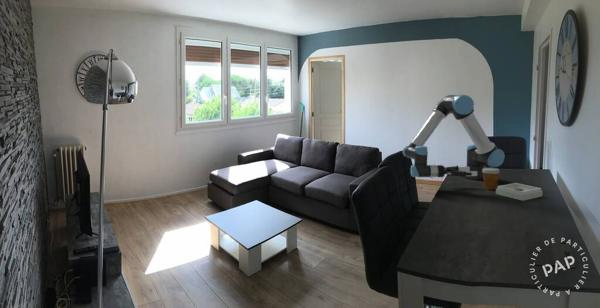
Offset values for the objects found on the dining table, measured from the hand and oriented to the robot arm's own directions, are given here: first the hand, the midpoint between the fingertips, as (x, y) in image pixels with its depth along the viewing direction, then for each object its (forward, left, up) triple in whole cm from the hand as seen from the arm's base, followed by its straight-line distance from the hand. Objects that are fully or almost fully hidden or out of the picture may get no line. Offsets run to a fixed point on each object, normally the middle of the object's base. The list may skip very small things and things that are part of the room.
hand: (473, 171), depth 213 cm
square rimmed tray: (-9, +23, -11) cm, 27 cm away
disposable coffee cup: (-9, +5, -11) cm, 15 cm away
